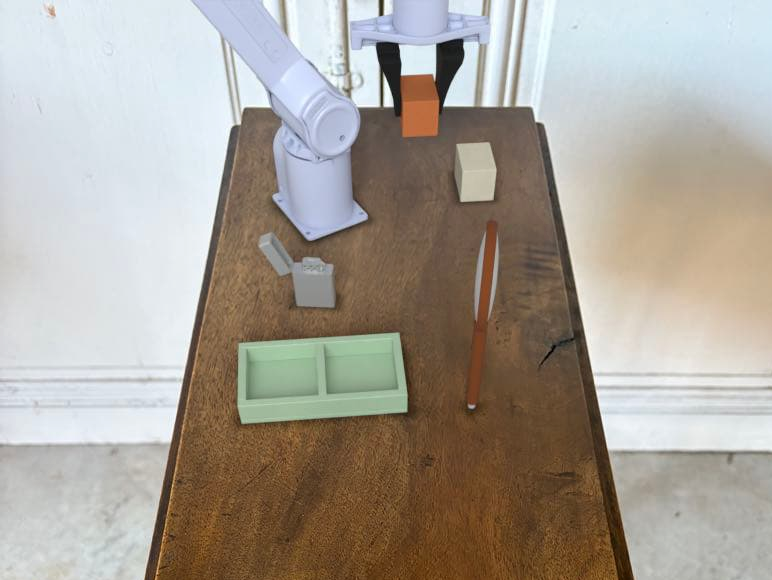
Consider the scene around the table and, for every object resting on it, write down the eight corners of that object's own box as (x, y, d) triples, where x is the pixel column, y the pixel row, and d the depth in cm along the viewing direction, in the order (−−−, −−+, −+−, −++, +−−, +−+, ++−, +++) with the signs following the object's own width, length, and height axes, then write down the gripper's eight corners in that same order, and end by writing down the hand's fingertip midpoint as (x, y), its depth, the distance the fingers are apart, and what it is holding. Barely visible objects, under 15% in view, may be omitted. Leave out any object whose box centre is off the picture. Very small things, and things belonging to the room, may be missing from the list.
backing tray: (242, 360, 81) (238, 342, 79) (399, 350, 82) (399, 332, 80) (241, 424, 76) (237, 406, 74) (407, 412, 77) (407, 394, 75)
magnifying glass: (476, 442, 75) (499, 270, 58) (458, 441, 75) (476, 267, 58) (483, 376, 80) (506, 197, 63) (466, 374, 80) (484, 196, 63)
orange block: (397, 110, 93) (397, 75, 89) (431, 108, 93) (433, 73, 90) (402, 137, 90) (402, 102, 86) (437, 135, 90) (439, 100, 87)
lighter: (336, 296, 86) (330, 233, 79) (334, 307, 85) (329, 244, 78) (271, 293, 86) (260, 230, 79) (268, 304, 85) (257, 241, 78)
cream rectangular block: (454, 174, 98) (456, 143, 94) (486, 172, 98) (489, 141, 95) (460, 202, 95) (462, 171, 91) (493, 200, 95) (496, 169, 92)
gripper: (487, -46, 81) (475, 88, 93) (345, -41, 80) (351, 94, 92) (498, -14, 78) (485, 122, 89) (350, -8, 77) (356, 129, 88)
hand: (417, 110), depth 90 cm, fingers closed on orange block, 4 cm apart
